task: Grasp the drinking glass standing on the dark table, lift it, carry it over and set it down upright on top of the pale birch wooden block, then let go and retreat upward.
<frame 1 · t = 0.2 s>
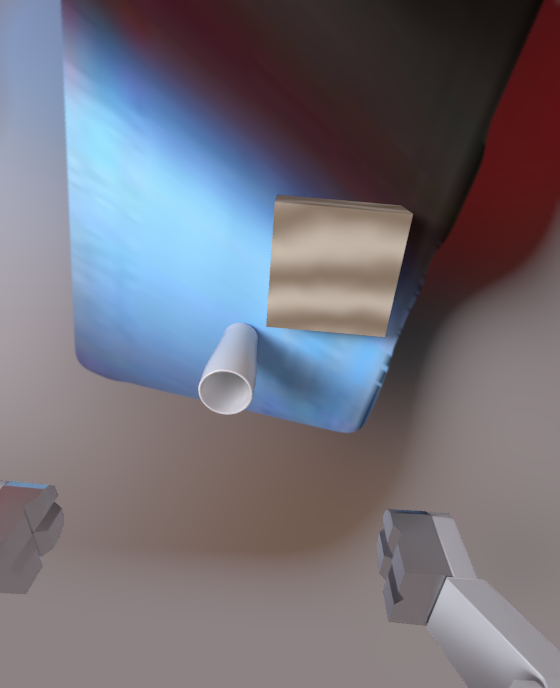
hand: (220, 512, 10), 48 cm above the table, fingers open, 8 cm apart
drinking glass: (241, 336, 61), on the table
birch block: (330, 260, 55), on the table
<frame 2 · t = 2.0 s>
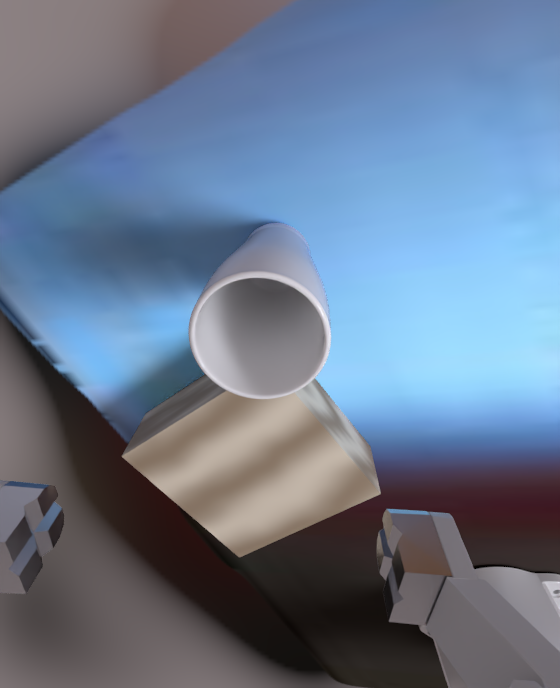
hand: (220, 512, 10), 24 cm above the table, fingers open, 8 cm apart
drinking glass: (277, 255, 32), on the table
birch block: (258, 430, 40), on the table
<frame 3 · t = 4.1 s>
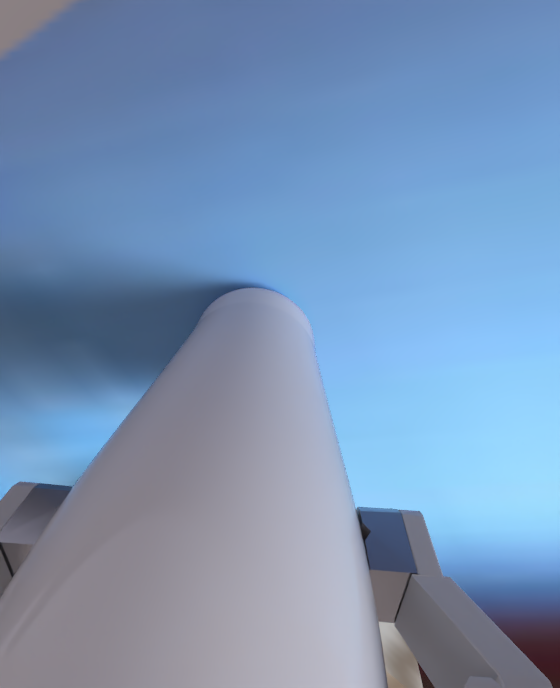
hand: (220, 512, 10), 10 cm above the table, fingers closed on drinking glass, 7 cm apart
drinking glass: (256, 336, 19), on the table, touching gripper
birch block: (236, 572, 27), on the table
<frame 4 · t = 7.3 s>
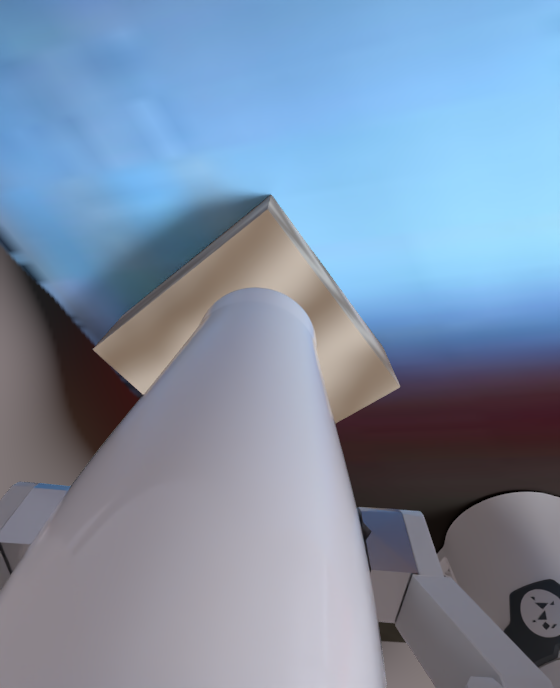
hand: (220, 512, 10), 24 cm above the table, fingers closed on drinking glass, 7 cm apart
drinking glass: (259, 335, 19), point 14 cm above the table, touching gripper
birch block: (255, 331, 34), on the table
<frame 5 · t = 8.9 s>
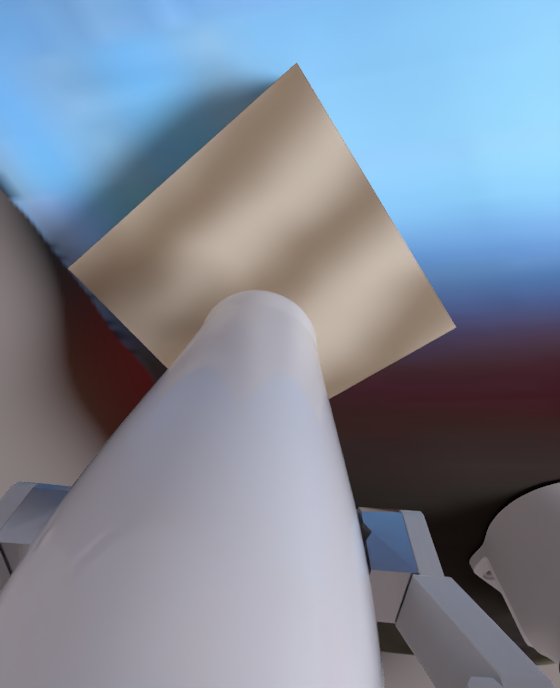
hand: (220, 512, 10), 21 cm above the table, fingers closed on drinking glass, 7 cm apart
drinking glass: (260, 337, 19), point 11 cm above the table, touching gripper
birch block: (271, 267, 28), on the table
when the fingers open (17 cm above the table, at t = 10.4 s): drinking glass stays where it is, resting on birch block.
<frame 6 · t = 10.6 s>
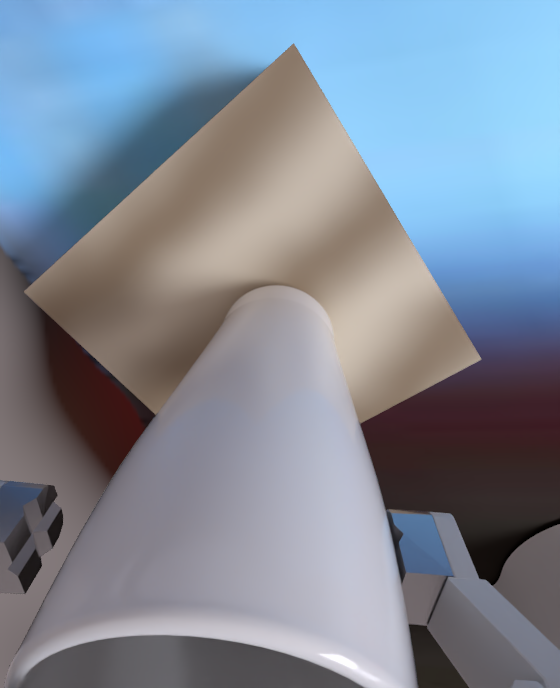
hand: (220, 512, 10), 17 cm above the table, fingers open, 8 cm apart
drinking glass: (278, 331, 20), point 6 cm above the table, touching birch block, gripper
birch block: (265, 285, 25), on the table
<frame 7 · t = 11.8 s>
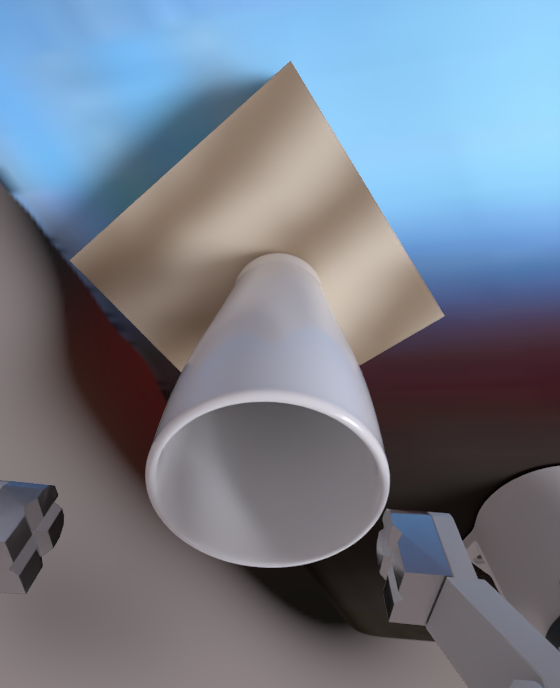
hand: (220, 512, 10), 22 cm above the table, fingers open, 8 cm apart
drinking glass: (278, 292, 24), point 6 cm above the table, touching birch block
birch block: (266, 260, 29), on the table
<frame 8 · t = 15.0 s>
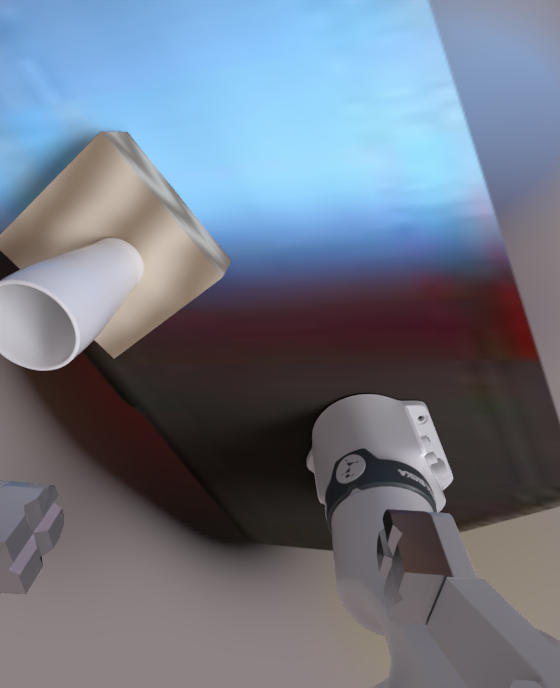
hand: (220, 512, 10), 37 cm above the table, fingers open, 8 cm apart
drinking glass: (120, 262, 40), point 6 cm above the table, touching birch block
birch block: (130, 245, 45), on the table
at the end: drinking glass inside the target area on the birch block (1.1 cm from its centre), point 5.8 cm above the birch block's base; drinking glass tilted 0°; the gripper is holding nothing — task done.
